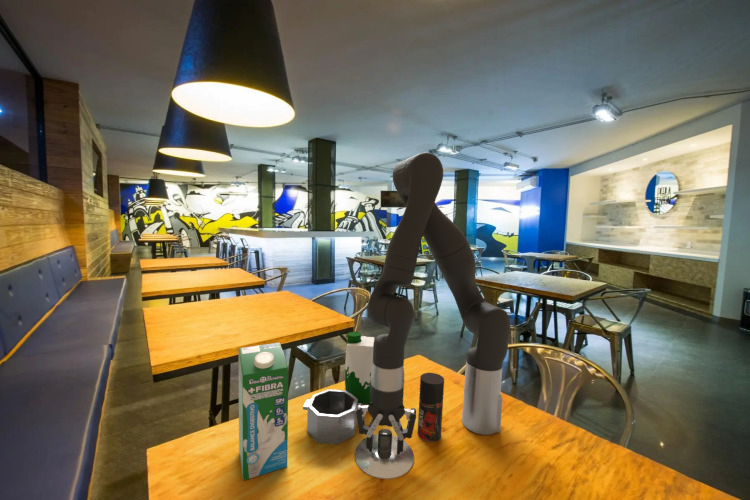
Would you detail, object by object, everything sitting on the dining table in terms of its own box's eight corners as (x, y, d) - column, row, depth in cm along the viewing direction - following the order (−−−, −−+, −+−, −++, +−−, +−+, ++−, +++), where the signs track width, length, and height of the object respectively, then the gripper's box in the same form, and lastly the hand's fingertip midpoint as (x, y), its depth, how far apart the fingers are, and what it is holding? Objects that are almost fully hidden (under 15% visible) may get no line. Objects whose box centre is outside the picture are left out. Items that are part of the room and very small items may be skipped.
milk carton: (243, 481, 66) (242, 364, 64) (239, 452, 74) (238, 347, 72) (287, 467, 71) (288, 356, 68) (279, 441, 79) (280, 341, 76)
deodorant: (445, 434, 83) (448, 378, 82) (432, 445, 79) (435, 386, 77) (426, 423, 87) (429, 370, 86) (412, 433, 83) (415, 378, 81)
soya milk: (346, 389, 103) (347, 328, 101) (374, 390, 103) (376, 329, 101) (342, 405, 94) (344, 339, 92) (373, 406, 94) (376, 340, 92)
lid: (412, 439, 81) (413, 418, 81) (414, 483, 68) (415, 458, 67) (359, 434, 82) (359, 413, 82) (350, 476, 69) (351, 451, 68)
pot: (363, 416, 90) (364, 392, 89) (357, 446, 78) (358, 418, 77) (311, 411, 91) (311, 387, 90) (297, 440, 79) (297, 413, 78)
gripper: (418, 376, 76) (415, 442, 78) (358, 371, 78) (356, 437, 79) (420, 393, 69) (416, 466, 71) (353, 387, 70) (351, 459, 72)
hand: (384, 450), depth 75 cm, fingers open, 5 cm apart
